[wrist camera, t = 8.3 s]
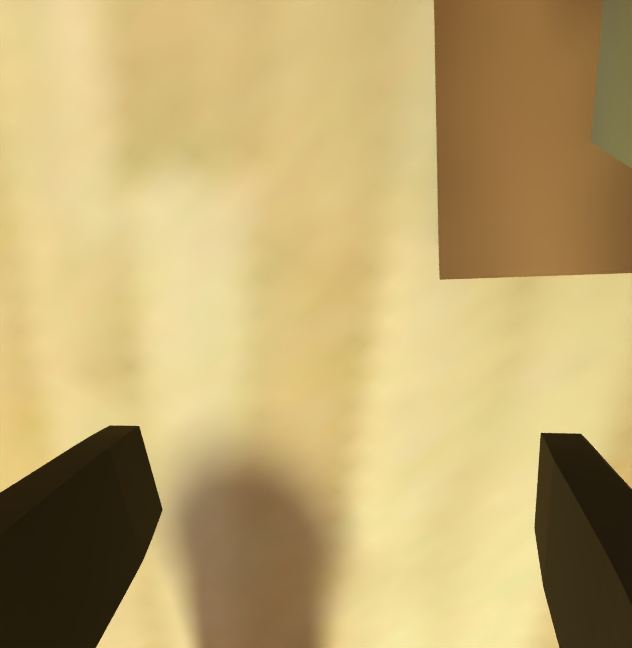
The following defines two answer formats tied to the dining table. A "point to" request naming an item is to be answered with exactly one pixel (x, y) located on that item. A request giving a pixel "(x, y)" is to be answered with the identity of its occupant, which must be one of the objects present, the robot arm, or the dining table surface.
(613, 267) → the base block
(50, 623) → the robot arm
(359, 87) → the dining table surface
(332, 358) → the dining table surface
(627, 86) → the cube
